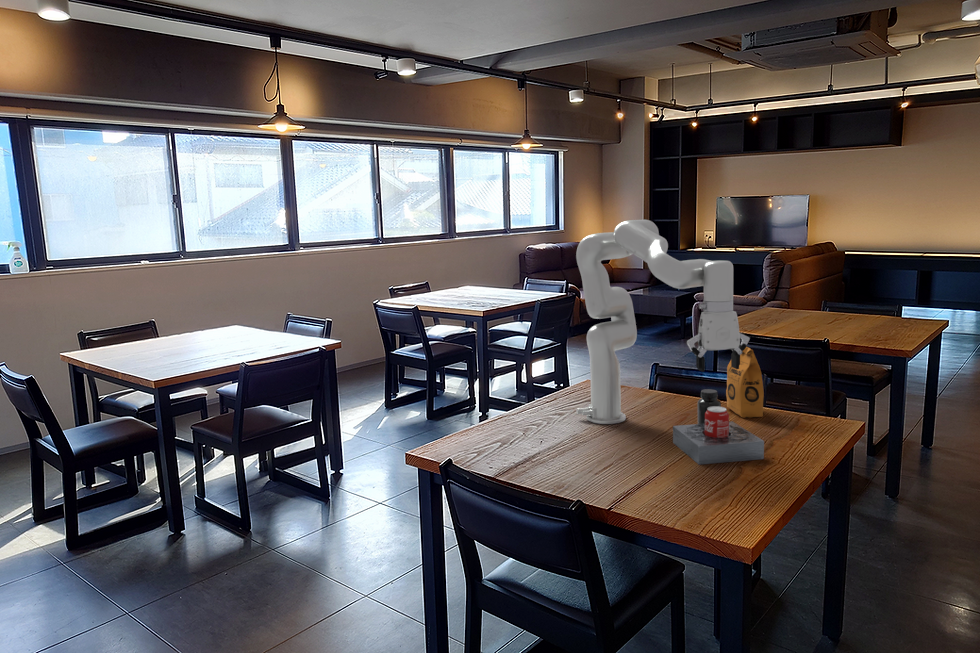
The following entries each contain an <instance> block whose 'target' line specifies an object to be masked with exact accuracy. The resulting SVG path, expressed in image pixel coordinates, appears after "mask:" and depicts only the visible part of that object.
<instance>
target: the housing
mask: <svg viewBox="0 0 980 653" xmlns="http://www.w3.org/2000/svg"><path fill="white" fill-rule="evenodd" d="M672 443H673V444H674V445H675V446H676V447H677V448H679V449H680V450H681V451H682V452H683V453H684V454H686V455H687V456H688V457H689V458H691V459H692V461H694V462H695V463H697V465H699V466H700V465H710V464H712V465H713V464H721V463H722V464H723V463H734V462H748V461H755V460H758V461H759V460H764V459H765V441H764V440H763V439H762V438H760V437H759V436H757V435H755V434H754V433H752V432H750V431H749V430H747V429H746V428H744V427H743V426H741V425H739V424H738V423H736V422H734V421H732V420H731V421H730V420H729V436H728V437H722V438H716V437H709V436H706V435H705V423H704V424H698V423H695V424H682V425H679V424H678V425H672Z"/></svg>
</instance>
